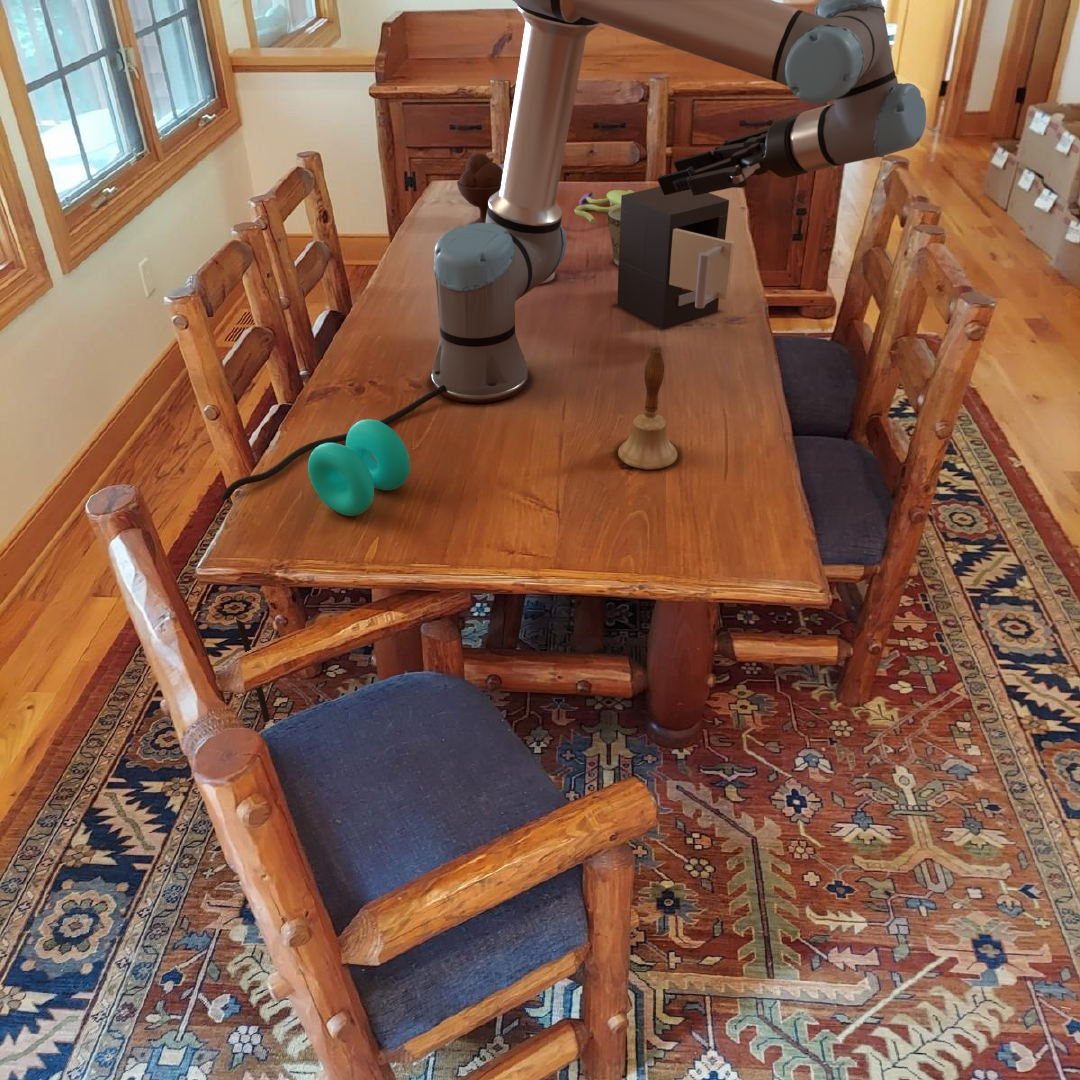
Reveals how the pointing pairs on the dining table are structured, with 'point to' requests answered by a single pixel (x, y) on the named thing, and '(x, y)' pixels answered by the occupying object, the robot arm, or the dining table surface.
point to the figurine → (589, 199)
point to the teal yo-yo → (359, 467)
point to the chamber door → (701, 265)
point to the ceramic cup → (615, 231)
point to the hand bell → (649, 425)
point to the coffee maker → (662, 252)
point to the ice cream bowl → (480, 182)
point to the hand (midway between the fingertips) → (670, 177)
